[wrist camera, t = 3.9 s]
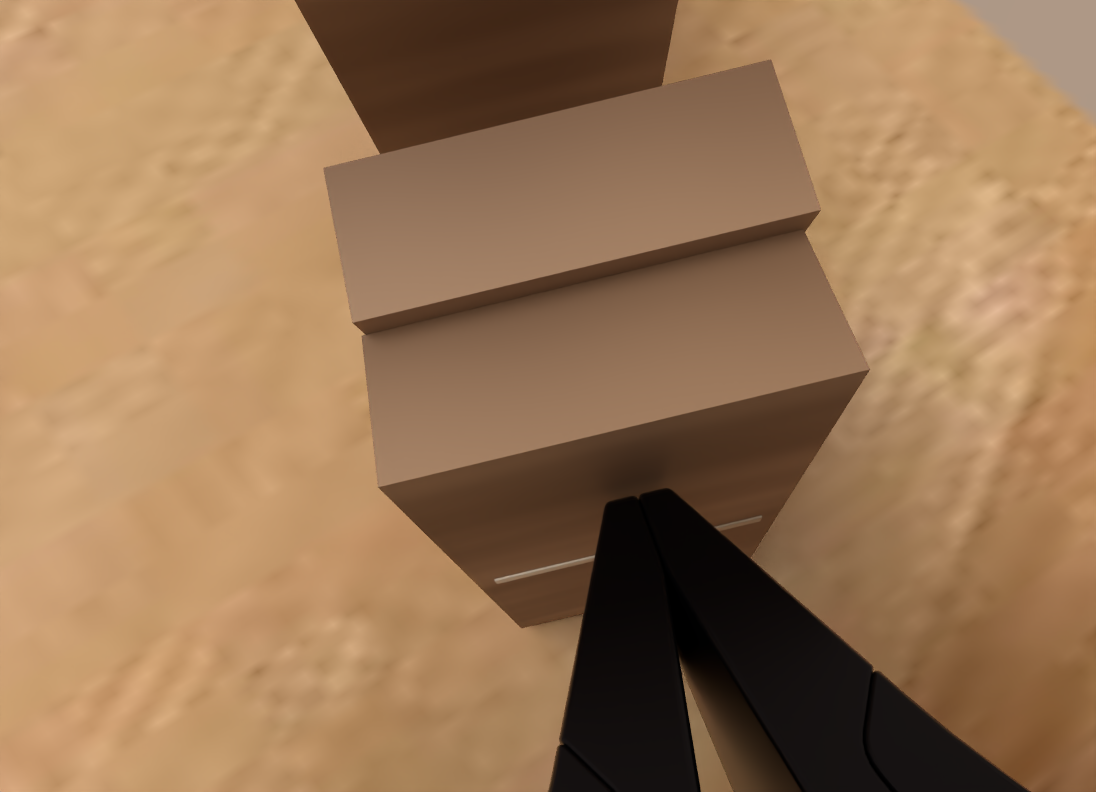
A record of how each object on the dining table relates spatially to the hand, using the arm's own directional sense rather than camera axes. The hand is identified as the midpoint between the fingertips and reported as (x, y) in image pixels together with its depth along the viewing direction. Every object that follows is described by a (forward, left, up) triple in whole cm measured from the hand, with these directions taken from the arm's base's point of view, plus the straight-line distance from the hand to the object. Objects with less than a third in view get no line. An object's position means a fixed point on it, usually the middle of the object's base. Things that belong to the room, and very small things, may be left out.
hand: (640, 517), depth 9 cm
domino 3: (-1, 0, -8) cm, 8 cm away
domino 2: (+3, -1, -8) cm, 9 cm away
